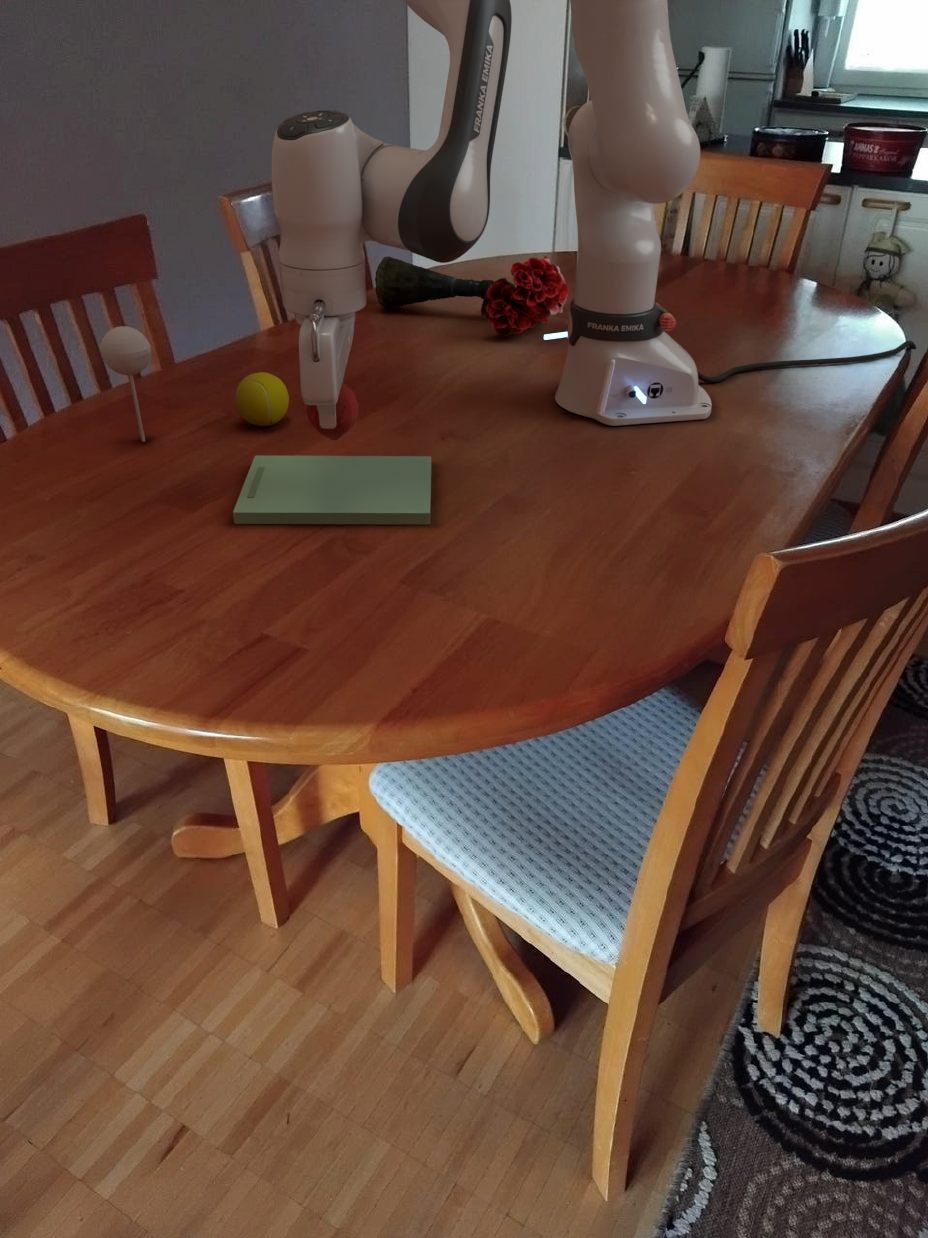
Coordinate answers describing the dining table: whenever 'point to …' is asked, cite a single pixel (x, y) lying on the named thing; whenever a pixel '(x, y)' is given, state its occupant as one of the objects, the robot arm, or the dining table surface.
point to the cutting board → (336, 490)
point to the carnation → (480, 291)
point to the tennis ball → (262, 399)
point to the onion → (345, 414)
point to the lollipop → (127, 357)
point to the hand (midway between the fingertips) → (332, 413)
